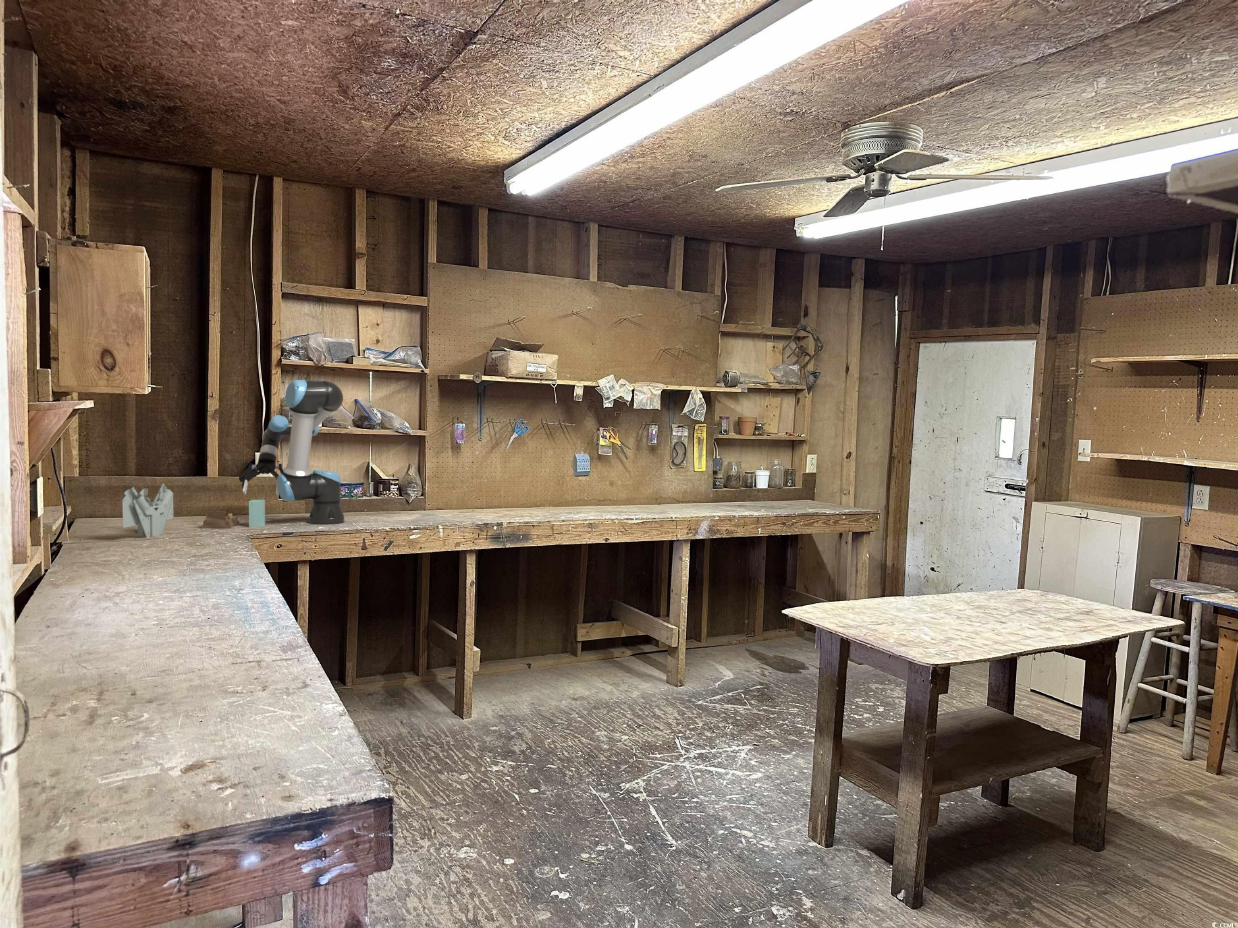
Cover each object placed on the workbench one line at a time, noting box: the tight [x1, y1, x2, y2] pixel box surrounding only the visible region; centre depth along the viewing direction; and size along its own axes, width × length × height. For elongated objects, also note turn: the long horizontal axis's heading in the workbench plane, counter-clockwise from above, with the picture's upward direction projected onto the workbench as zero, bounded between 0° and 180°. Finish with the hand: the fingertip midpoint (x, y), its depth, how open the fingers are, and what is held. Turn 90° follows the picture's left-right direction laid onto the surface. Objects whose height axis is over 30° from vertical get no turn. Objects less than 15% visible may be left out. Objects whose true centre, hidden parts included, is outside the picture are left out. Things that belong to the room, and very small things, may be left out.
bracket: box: [121, 483, 174, 538], centre depth 320 cm, size 28×7×20 cm, turn 171°
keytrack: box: [201, 510, 240, 529], centre depth 351 cm, size 15×11×7 cm
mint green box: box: [248, 499, 266, 528], centre depth 353 cm, size 7×5×11 cm
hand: (260, 493), depth 362 cm, fingers open, 13 cm apart
